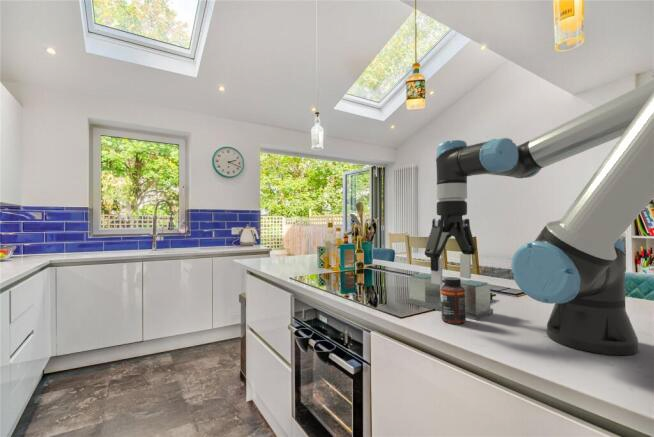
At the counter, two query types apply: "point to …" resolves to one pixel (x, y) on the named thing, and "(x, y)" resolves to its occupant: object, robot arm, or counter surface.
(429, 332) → the counter surface
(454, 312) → the supplement bottle
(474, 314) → the rail
